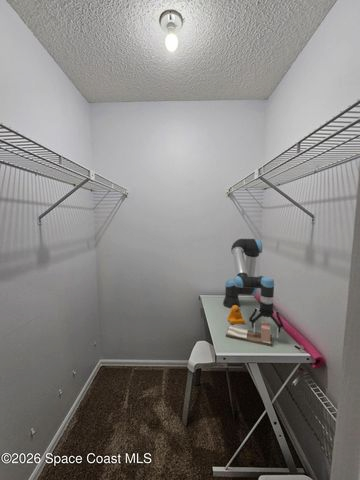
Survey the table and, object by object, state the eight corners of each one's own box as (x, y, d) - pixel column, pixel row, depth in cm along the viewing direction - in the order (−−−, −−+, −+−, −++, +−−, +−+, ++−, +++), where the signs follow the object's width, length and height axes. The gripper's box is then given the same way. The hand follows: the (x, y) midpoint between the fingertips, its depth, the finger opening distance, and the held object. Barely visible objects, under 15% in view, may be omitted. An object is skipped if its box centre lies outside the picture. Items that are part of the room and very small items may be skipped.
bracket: (230, 324, 151) (231, 309, 150) (227, 320, 158) (228, 305, 157) (245, 324, 151) (245, 308, 151) (241, 319, 159) (241, 304, 158)
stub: (261, 333, 136) (261, 321, 135) (269, 334, 134) (269, 323, 133) (261, 340, 127) (261, 327, 127) (269, 342, 125) (270, 329, 125)
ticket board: (228, 328, 145) (228, 325, 145) (271, 336, 135) (271, 333, 135) (225, 337, 134) (225, 334, 134) (272, 346, 124) (272, 343, 123)
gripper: (245, 301, 130) (244, 333, 131) (289, 307, 121) (288, 341, 122) (246, 297, 137) (245, 328, 138) (288, 303, 128) (286, 335, 129)
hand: (265, 334), depth 130 cm, fingers open, 13 cm apart
